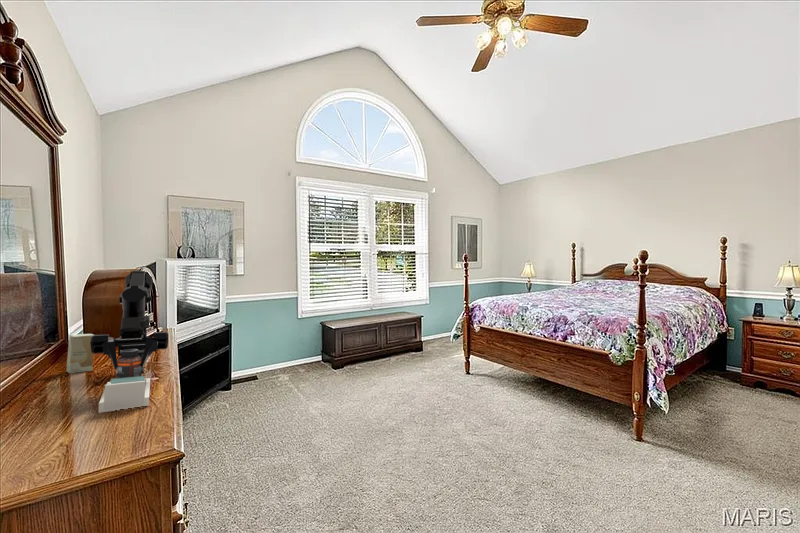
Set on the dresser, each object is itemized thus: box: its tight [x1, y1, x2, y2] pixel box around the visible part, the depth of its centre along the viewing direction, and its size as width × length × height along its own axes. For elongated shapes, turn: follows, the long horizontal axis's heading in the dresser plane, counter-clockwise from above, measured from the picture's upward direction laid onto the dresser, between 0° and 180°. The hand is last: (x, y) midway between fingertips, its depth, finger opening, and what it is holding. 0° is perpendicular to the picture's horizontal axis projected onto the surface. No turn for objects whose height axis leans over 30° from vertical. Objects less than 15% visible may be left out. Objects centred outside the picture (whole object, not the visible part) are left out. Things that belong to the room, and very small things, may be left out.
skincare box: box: [65, 333, 95, 374], centre depth 129 cm, size 6×4×12 cm
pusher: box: [110, 375, 145, 384], centre depth 105 cm, size 3×8×4 cm, turn 123°
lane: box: [98, 377, 151, 414], centre depth 105 cm, size 20×10×7 cm, turn 32°
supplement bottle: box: [115, 349, 142, 378], centre depth 110 cm, size 6×6×11 cm
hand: (129, 367), depth 108 cm, fingers closed on supplement bottle, 6 cm apart
